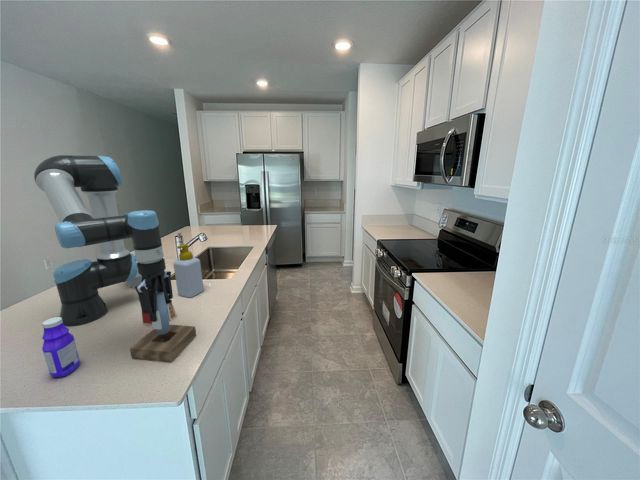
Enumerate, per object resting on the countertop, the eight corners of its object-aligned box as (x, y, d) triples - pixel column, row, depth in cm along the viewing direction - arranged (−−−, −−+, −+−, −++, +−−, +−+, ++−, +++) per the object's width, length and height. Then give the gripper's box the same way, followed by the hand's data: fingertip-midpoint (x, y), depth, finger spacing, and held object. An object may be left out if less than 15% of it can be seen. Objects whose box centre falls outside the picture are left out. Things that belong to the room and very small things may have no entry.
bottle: (66, 362, 85) (52, 314, 80) (85, 361, 85) (72, 313, 81) (46, 379, 78) (28, 328, 73) (66, 378, 78) (50, 327, 74)
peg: (154, 334, 89) (146, 296, 85) (162, 327, 93) (155, 291, 89) (165, 335, 89) (158, 297, 85) (172, 328, 92) (166, 291, 89)
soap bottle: (176, 295, 129) (169, 246, 122) (191, 287, 137) (185, 241, 130) (190, 298, 126) (183, 248, 119) (205, 290, 134) (199, 243, 127)
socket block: (132, 358, 87) (129, 348, 86) (161, 333, 100) (159, 323, 99) (171, 362, 85) (169, 351, 84) (196, 335, 98) (195, 326, 97)
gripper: (140, 270, 75) (154, 341, 81) (178, 252, 92) (187, 312, 98) (116, 269, 76) (132, 339, 82) (158, 251, 92) (168, 310, 99)
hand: (162, 324), depth 90 cm, fingers closed on peg, 4 cm apart
